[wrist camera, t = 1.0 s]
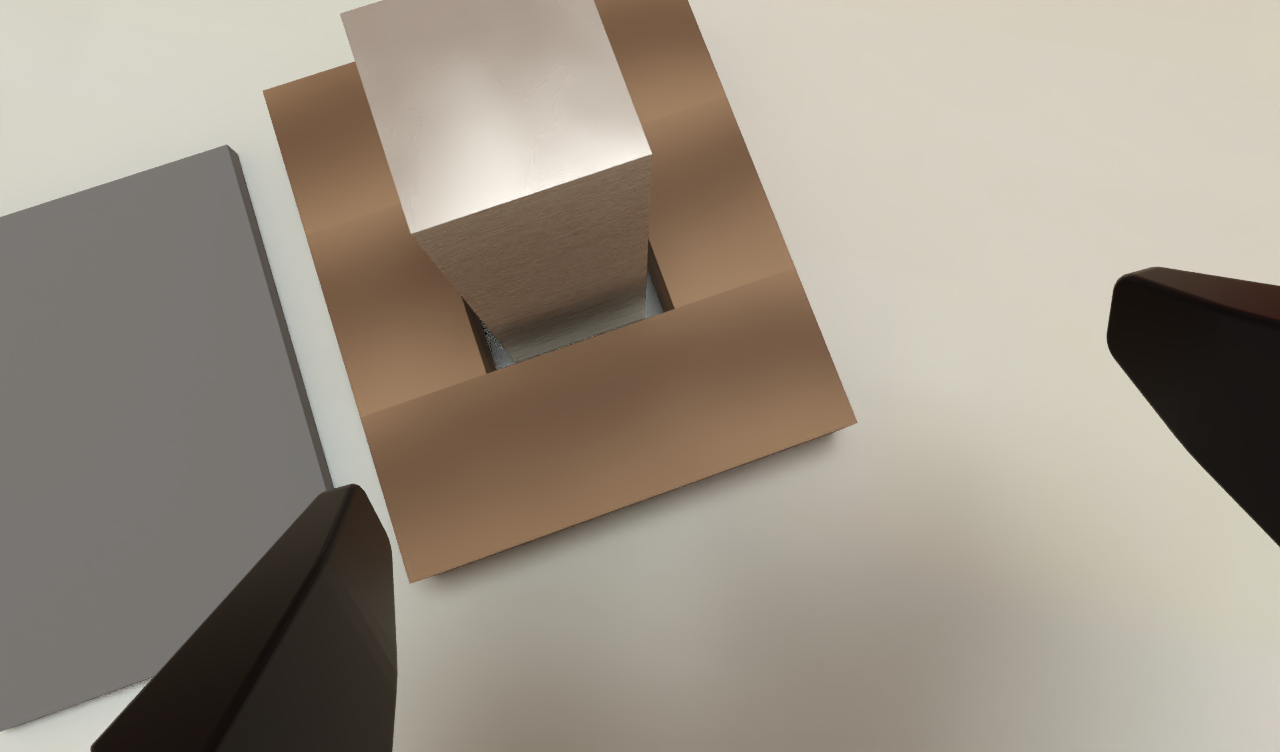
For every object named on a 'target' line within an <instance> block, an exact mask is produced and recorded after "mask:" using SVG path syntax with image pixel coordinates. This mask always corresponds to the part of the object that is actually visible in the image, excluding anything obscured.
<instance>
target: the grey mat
mask: <svg viewBox="0 0 1280 752" xmlns="http://www.w3.org/2000/svg"><path fill="white" fill-rule="evenodd" d="M331 489H334V488H333V484H332V481H331V477H330V474H329V470H328V467H327V463H326V460H325V456H324V453H323V450H322V446H321V443H320V439H319V436H318V432H317V429H316V425H315V422H314V418H313V415H312V411H311V408H310V405H309V401H308V398H307V394H306V391H305V387H304V384H303V380H302V377H301V373H300V370H299V367H298V363H297V360H296V356H295V353H294V349H293V346H292V342H291V339H290V335H289V332H288V328H287V325H286V322H285V318H284V315H283V311H282V308H281V304H280V301H279V297H278V294H277V290H276V287H275V283H274V280H273V277H272V273H271V270H270V266H269V263H268V259H267V256H266V252H265V249H264V245H263V242H262V238H261V235H260V232H259V228H258V225H257V221H256V218H255V214H254V211H253V207H252V204H251V200H250V197H249V193H248V190H247V187H246V183H245V180H244V176H243V173H242V169H241V166H240V162H239V159H238V155H237V153H236V152H235V151H234V150H232V149H231V148H230V147H229V146H228V145H224V146H221V147H218V148H215V149H212V150H209V151H206V152H203V153H199V154H196V155H193V156H190V157H187V158H184V159H181V160H178V161H174V162H171V163H168V164H165V165H162V166H159V167H156V168H153V169H149V170H146V171H143V172H140V173H137V174H134V175H131V176H128V177H125V178H121V179H118V180H115V181H112V182H109V183H106V184H103V185H100V186H96V187H93V188H90V189H87V190H84V191H81V192H78V193H75V194H71V195H68V196H65V197H62V198H59V199H56V200H53V201H50V202H46V203H43V204H40V205H37V206H34V207H31V208H28V209H25V210H22V211H18V212H15V213H12V214H9V215H6V216H3V217H0V732H1V731H3V730H6V729H9V728H12V727H15V726H18V725H20V724H23V723H26V722H29V721H31V720H34V719H37V718H40V717H43V716H45V715H48V714H51V713H54V712H57V711H59V710H62V709H65V708H68V707H70V706H73V705H76V704H79V703H82V702H84V701H87V700H90V699H93V698H95V697H98V696H101V695H104V694H107V693H109V692H112V691H115V690H118V689H120V688H123V687H126V686H129V685H132V684H134V683H137V682H140V681H143V680H146V679H148V678H151V677H154V676H155V675H156V674H157V673H158V671H159V670H160V669H161V668H162V667H163V666H164V665H165V664H166V663H167V662H168V660H169V659H170V658H171V657H172V656H173V655H174V654H175V653H176V652H177V650H178V649H179V648H180V647H181V646H182V645H183V644H184V643H185V642H186V641H187V639H188V638H189V637H190V636H191V635H192V634H193V633H194V632H195V631H196V630H197V628H198V627H199V626H200V625H201V624H202V623H203V622H204V621H205V620H206V618H207V617H208V616H209V615H210V614H211V613H212V612H213V611H214V610H215V609H216V607H217V606H218V605H219V604H220V603H221V602H222V601H223V600H224V599H225V597H226V596H227V595H228V594H229V593H230V592H231V591H232V590H233V589H234V588H235V586H236V585H237V584H238V583H239V582H240V581H241V580H242V579H243V578H244V576H245V575H246V574H247V573H248V572H249V571H250V570H251V569H252V568H253V567H254V565H255V564H256V563H257V562H258V561H259V560H260V559H261V558H262V557H263V555H264V554H265V553H266V552H267V551H268V550H269V549H270V548H271V547H272V546H273V544H274V543H275V542H276V541H277V540H278V539H279V538H280V537H281V536H282V534H283V533H284V532H285V531H286V530H287V529H288V528H289V527H290V526H291V524H292V523H293V522H294V521H295V520H296V519H297V518H298V517H299V516H300V515H301V513H302V512H303V511H304V510H305V509H306V508H307V507H308V506H309V505H310V503H311V502H312V501H313V500H314V499H315V498H316V497H317V496H318V495H319V494H320V493H322V492H324V491H327V490H331Z"/></svg>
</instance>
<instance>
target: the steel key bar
mask: <svg viewBox="0 0 1280 752" xmlns="http://www.w3.org/2000/svg"><path fill="white" fill-rule="evenodd" d="M340 15H341V18H342V21H343V25H344V28H345V31H346V34H347V37H348V40H349V43H350V46H351V49H352V53H353V56H354V59H355V62H356V65H357V68H358V71H359V74H360V77H361V81H362V84H363V87H364V90H365V93H366V96H367V99H368V102H369V105H370V109H371V112H372V115H373V118H374V121H375V124H376V127H377V130H378V133H379V137H380V140H381V143H382V146H383V149H384V152H385V155H386V158H387V161H388V165H389V168H390V171H391V174H392V177H393V180H394V183H395V186H396V189H397V192H398V196H399V199H400V202H401V205H402V208H403V211H404V214H405V217H406V220H407V224H408V227H409V230H410V233H411V235H412V236H413V237H414V238H415V240H416V241H417V242H418V243H419V245H420V246H421V247H422V248H423V249H424V251H425V252H426V253H427V254H428V256H429V257H430V258H431V259H432V261H433V262H434V263H435V264H436V265H437V267H438V268H439V269H440V270H441V272H442V273H443V274H444V275H445V276H446V278H447V279H448V280H449V281H450V283H451V284H452V285H453V286H454V287H455V289H456V290H457V291H458V292H459V294H460V295H461V296H462V297H463V298H464V300H465V301H466V302H467V303H468V305H469V306H470V307H471V308H472V310H473V311H474V312H475V313H476V314H477V316H478V317H479V318H480V319H481V321H482V322H483V323H484V324H485V325H486V327H487V328H488V329H489V330H490V332H491V333H492V334H493V335H494V336H495V338H496V339H497V340H498V341H499V343H500V344H501V345H502V346H503V347H504V349H505V350H506V351H507V352H508V354H509V355H510V356H511V357H512V358H513V360H514V361H515V362H519V361H522V360H525V359H528V358H531V357H534V356H537V355H540V354H542V353H545V352H548V351H551V350H554V349H557V348H560V347H563V346H566V345H569V344H571V343H574V342H577V341H580V340H583V339H586V338H589V337H592V336H595V335H598V334H600V333H603V332H606V331H609V330H612V329H615V328H618V327H621V326H624V325H627V324H629V323H632V322H635V321H638V320H641V319H644V318H645V302H646V279H647V257H648V235H649V212H650V190H651V167H652V152H651V150H650V147H649V144H648V142H647V139H646V137H645V134H644V131H643V129H642V126H641V123H640V121H639V118H638V116H637V113H636V110H635V108H634V105H633V102H632V100H631V97H630V94H629V92H628V89H627V87H626V84H625V81H624V79H623V76H622V73H621V71H620V68H619V66H618V63H617V60H616V58H615V55H614V52H613V50H612V47H611V45H610V42H609V39H608V37H607V34H606V31H605V29H604V26H603V23H602V21H601V18H600V16H599V13H598V10H597V8H596V5H595V2H594V0H383V1H380V2H376V3H373V4H370V5H367V6H364V7H360V8H357V9H354V10H351V11H348V12H344V13H341V14H340Z"/></svg>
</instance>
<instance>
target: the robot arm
mask: <svg viewBox="0 0 1280 752" xmlns="http://www.w3.org/2000/svg"><path fill="white" fill-rule="evenodd" d="M1107 344H1108V348H1109V350H1110V352H1111V354H1112V356H1113V358H1114V359H1115V360H1116V362H1117V363H1118V364H1119V365H1120V367H1121V368H1122V369H1123V370H1124V372H1125V373H1126V374H1127V376H1128V377H1129V378H1130V379H1131V381H1132V382H1133V383H1134V384H1135V386H1136V387H1137V388H1138V390H1139V391H1140V392H1141V393H1142V395H1143V396H1144V397H1145V399H1146V400H1147V401H1148V402H1149V404H1150V405H1151V406H1152V407H1153V409H1154V410H1155V411H1156V413H1157V414H1158V415H1159V416H1160V418H1161V419H1162V420H1163V421H1164V423H1165V424H1166V425H1167V427H1168V428H1169V429H1170V430H1171V432H1172V433H1173V434H1174V435H1175V437H1176V438H1177V439H1178V440H1179V441H1180V443H1181V444H1182V445H1183V446H1184V447H1185V449H1186V450H1187V451H1188V452H1189V453H1190V454H1191V455H1192V457H1193V458H1194V459H1195V460H1196V461H1197V462H1198V463H1199V464H1200V465H1201V466H1202V467H1203V468H1204V469H1205V470H1206V472H1207V473H1208V474H1209V475H1210V476H1211V477H1212V478H1213V479H1214V480H1215V481H1216V482H1217V483H1218V484H1219V485H1220V486H1221V487H1222V488H1223V489H1224V490H1225V491H1226V492H1227V493H1228V494H1229V495H1230V496H1231V497H1232V498H1233V499H1234V500H1235V501H1236V502H1237V503H1238V504H1239V506H1240V507H1241V508H1242V509H1243V510H1244V511H1245V512H1246V513H1247V514H1248V515H1249V516H1250V517H1251V518H1252V519H1253V520H1254V521H1255V522H1256V523H1257V524H1258V525H1259V526H1260V527H1261V528H1262V529H1263V530H1264V531H1265V532H1266V533H1267V534H1268V535H1269V536H1270V537H1271V538H1272V539H1273V541H1274V542H1275V543H1276V544H1277V545H1278V546H1279V547H1280V286H1277V285H1270V284H1264V283H1258V282H1252V281H1245V280H1239V279H1233V278H1226V277H1220V276H1214V275H1207V274H1201V273H1195V272H1189V271H1182V270H1176V269H1170V268H1163V267H1150V268H1147V269H1143V270H1140V271H1136V272H1132V273H1129V274H1125V275H1123V276H1122V277H1120V278H1119V279H1118V280H1117V282H1116V284H1115V285H1114V289H1113V295H1112V302H1111V309H1110V315H1109V322H1108V329H1107ZM396 693H397V645H396V625H395V604H394V584H393V563H392V551H391V545H390V541H389V538H388V536H387V533H386V531H385V529H384V528H383V526H382V524H381V522H380V520H379V518H378V516H377V514H376V512H375V510H374V508H373V506H372V505H371V503H370V501H369V499H368V497H367V495H366V493H365V492H364V490H363V489H362V488H361V487H360V486H358V485H356V484H350V485H346V486H342V487H338V488H335V489H331V490H327V491H324V492H322V493H320V494H319V495H318V496H317V497H316V498H315V499H314V500H313V501H312V502H311V503H310V505H309V506H308V507H307V508H306V509H305V510H304V511H303V512H302V513H301V515H300V516H299V517H298V518H297V519H296V520H295V521H294V522H293V523H292V524H291V526H290V527H289V528H288V529H287V530H286V531H285V532H284V533H283V534H282V536H281V537H280V538H279V539H278V540H277V541H276V542H275V543H274V544H273V546H272V547H271V548H270V549H269V550H268V551H267V552H266V553H265V554H264V555H263V557H262V558H261V559H260V560H259V561H258V562H257V563H256V564H255V565H254V567H253V568H252V569H251V570H250V571H249V572H248V573H247V574H246V575H245V576H244V578H243V579H242V580H241V581H240V582H239V583H238V584H237V585H236V586H235V588H234V589H233V590H232V591H231V592H230V593H229V594H228V595H227V596H226V597H225V599H224V600H223V601H222V602H221V603H220V604H219V605H218V606H217V607H216V609H215V610H214V611H213V612H212V613H211V614H210V615H209V616H208V617H207V618H206V620H205V621H204V622H203V623H202V624H201V625H200V626H199V627H198V628H197V630H196V631H195V632H194V633H193V634H192V635H191V636H190V637H189V638H188V639H187V641H186V642H185V643H184V644H183V645H182V646H181V647H180V648H179V649H178V650H177V652H176V653H175V654H174V655H173V656H172V657H171V658H170V659H169V660H168V662H167V663H166V664H165V665H164V666H163V667H162V668H161V669H160V670H159V671H158V673H157V674H156V675H155V676H154V677H153V678H152V679H151V680H150V681H149V683H148V684H147V685H146V686H145V687H144V688H143V689H142V690H141V691H140V692H139V694H138V695H137V696H136V697H135V698H134V699H133V700H132V701H131V702H130V703H129V705H128V706H127V707H126V708H125V709H124V710H123V711H122V712H121V713H120V715H119V716H118V717H117V718H116V719H115V720H114V721H113V722H112V723H111V724H110V726H109V727H108V728H107V729H106V730H105V731H104V732H103V733H102V734H101V735H100V737H99V738H98V739H97V740H96V741H95V742H94V743H93V744H92V746H91V752H392V747H393V734H394V720H395V707H396Z"/></svg>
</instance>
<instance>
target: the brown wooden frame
mask: <svg viewBox="0 0 1280 752" xmlns="http://www.w3.org/2000/svg"><path fill="white" fill-rule="evenodd" d="M594 2H595V5H596V8H597V10H598V13H599V16H600V18H601V21H602V23H603V26H604V29H605V31H606V34H607V37H608V39H609V42H610V45H611V47H612V50H613V52H614V55H615V58H616V60H617V63H618V66H619V68H620V71H621V73H622V76H623V79H624V81H625V84H626V87H627V89H628V92H629V94H630V97H631V100H632V102H633V105H634V108H635V110H636V113H637V116H638V118H639V121H640V123H641V126H642V129H643V131H644V134H645V137H646V139H647V142H648V144H649V147H650V150H651V152H652V167H651V190H650V212H649V235H648V257H647V267H648V270H649V272H650V275H651V278H652V281H653V283H654V286H655V289H656V291H657V294H658V297H659V299H660V302H661V305H662V308H663V310H664V313H661V314H659V315H656V316H653V317H650V318H647V319H644V320H641V321H638V322H635V323H632V324H630V325H627V326H624V327H621V328H618V329H615V330H612V331H609V332H606V333H603V334H601V335H598V336H595V337H592V338H589V339H586V340H583V341H580V342H577V343H574V344H572V345H569V346H566V347H563V348H560V349H557V350H554V351H551V352H548V353H546V354H543V355H540V356H537V357H534V358H531V359H528V360H525V361H522V362H519V363H517V364H514V365H511V366H508V367H505V368H502V369H499V370H496V367H495V364H494V361H493V358H492V355H491V352H490V349H489V346H488V343H487V340H486V337H485V334H484V331H483V328H482V325H481V322H480V319H479V317H478V316H477V314H476V313H475V312H474V311H473V310H472V308H471V307H470V306H469V305H468V303H467V302H466V301H465V300H464V298H463V297H462V296H461V295H460V294H459V292H458V291H457V290H456V289H455V287H454V286H453V285H452V284H451V283H450V281H449V280H448V279H447V278H446V276H445V275H444V274H443V273H442V272H441V270H440V269H439V268H438V267H437V265H436V264H435V263H434V262H433V261H432V259H431V258H430V257H429V256H428V254H427V253H426V252H425V251H424V249H423V248H422V247H421V246H420V245H419V243H418V242H417V241H416V240H415V238H414V237H413V236H412V235H411V233H410V230H409V227H408V224H407V220H406V217H405V214H404V211H403V208H402V205H401V202H400V199H399V196H398V192H397V189H396V186H395V183H394V180H393V177H392V174H391V171H390V168H389V165H388V161H387V158H386V155H385V152H384V149H383V146H382V143H381V140H380V137H379V133H378V130H377V127H376V124H375V121H374V118H373V115H372V112H371V109H370V105H369V102H368V99H367V96H366V93H365V90H364V87H363V84H362V81H361V77H360V74H359V71H358V68H357V65H356V62H352V63H349V64H346V65H343V66H339V67H336V68H333V69H330V70H327V71H324V72H320V73H317V74H314V75H311V76H308V77H305V78H302V79H298V80H295V81H292V82H289V83H286V84H283V85H279V86H276V87H273V88H270V89H267V90H264V91H263V94H264V97H265V100H266V104H267V107H268V110H269V114H270V117H271V120H272V124H273V127H274V130H275V134H276V137H277V140H278V144H279V147H280V150H281V154H282V157H283V161H284V164H285V167H286V171H287V174H288V177H289V181H290V184H291V187H292V191H293V194H294V197H295V201H296V204H297V207H298V211H299V214H300V217H301V221H302V224H303V227H304V231H305V234H306V237H307V241H308V244H309V248H310V251H311V254H312V258H313V261H314V264H315V268H316V271H317V274H318V278H319V281H320V284H321V288H322V291H323V294H324V298H325V301H326V304H327V308H328V311H329V314H330V318H331V321H332V325H333V328H334V331H335V335H336V338H337V341H338V345H339V348H340V351H341V355H342V358H343V361H344V365H345V368H346V371H347V375H348V378H349V381H350V385H351V388H352V391H353V395H354V398H355V401H356V405H357V408H358V412H359V415H360V418H361V422H362V425H363V428H364V432H365V435H366V438H367V442H368V445H369V448H370V452H371V455H372V458H373V462H374V465H375V468H376V472H377V475H378V478H379V482H380V485H381V489H382V492H383V495H384V499H385V502H386V505H387V509H388V512H389V515H390V519H391V522H392V525H393V529H394V532H395V535H396V539H397V542H398V545H399V549H400V552H401V555H402V559H403V562H404V566H405V569H406V572H407V576H408V579H409V582H410V583H413V582H416V581H419V580H422V579H426V578H429V577H432V576H435V575H438V574H440V573H443V572H446V571H449V570H452V569H454V568H457V567H460V566H463V565H465V564H468V563H471V562H474V561H477V560H479V559H482V558H485V557H488V556H490V555H493V554H496V553H499V552H502V551H504V550H507V549H510V548H513V547H516V546H518V545H521V544H524V543H527V542H529V541H532V540H535V539H538V538H541V537H543V536H546V535H549V534H552V533H554V532H557V531H560V530H563V529H566V528H568V527H571V526H574V525H577V524H579V523H582V522H585V521H588V520H591V519H593V518H596V517H599V516H602V515H605V514H607V513H610V512H613V511H616V510H618V509H621V508H624V507H627V506H630V505H632V504H635V503H638V502H641V501H643V500H646V499H649V498H652V497H655V496H657V495H660V494H663V493H666V492H669V491H671V490H674V489H677V488H680V487H682V486H685V485H688V484H691V483H694V482H696V481H699V480H702V479H705V478H707V477H710V476H713V475H716V474H719V473H721V472H724V471H727V470H730V469H732V468H735V467H738V466H741V465H744V464H746V463H749V462H752V461H755V460H758V459H760V458H763V457H766V456H769V455H771V454H774V453H777V452H780V451H783V450H785V449H788V448H791V447H794V446H796V445H799V444H802V443H805V442H808V441H810V440H813V439H816V438H819V437H822V436H824V435H827V434H830V433H833V432H835V431H838V430H840V429H843V428H845V427H848V426H850V425H853V424H855V423H857V420H856V418H855V415H854V413H853V410H852V408H851V405H850V403H849V400H848V398H847V395H846V393H845V391H844V388H843V386H842V383H841V381H840V378H839V376H838V373H837V371H836V368H835V366H834V363H833V361H832V358H831V356H830V353H829V351H828V348H827V346H826V343H825V341H824V338H823V336H822V333H821V331H820V328H819V326H818V323H817V321H816V318H815V316H814V313H813V311H812V308H811V306H810V303H809V301H808V298H807V296H806V293H805V291H804V288H803V286H802V283H801V281H800V278H799V276H798V274H797V271H796V269H795V266H794V264H793V261H792V259H791V256H790V254H789V251H788V249H787V246H786V244H785V241H784V239H783V236H782V234H781V231H780V229H779V226H778V224H777V221H776V219H775V216H774V214H773V211H772V209H771V206H770V204H769V201H768V199H767V196H766V194H765V191H764V189H763V186H762V184H761V181H760V179H759V176H758V174H757V171H756V169H755V166H754V164H753V161H752V159H751V157H750V154H749V152H748V149H747V147H746V144H745V142H744V139H743V137H742V134H741V132H740V129H739V127H738V124H737V122H736V119H735V117H734V114H733V112H732V109H731V107H730V104H729V102H728V99H727V97H726V94H725V92H724V89H723V87H722V84H721V82H720V79H719V77H718V74H717V72H716V69H715V67H714V64H713V62H712V59H711V57H710V54H709V52H708V49H707V47H706V45H705V42H704V40H703V37H702V35H701V32H700V30H699V27H698V25H697V22H696V20H695V17H694V15H693V12H692V10H691V7H690V5H689V2H688V0H594Z"/></svg>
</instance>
